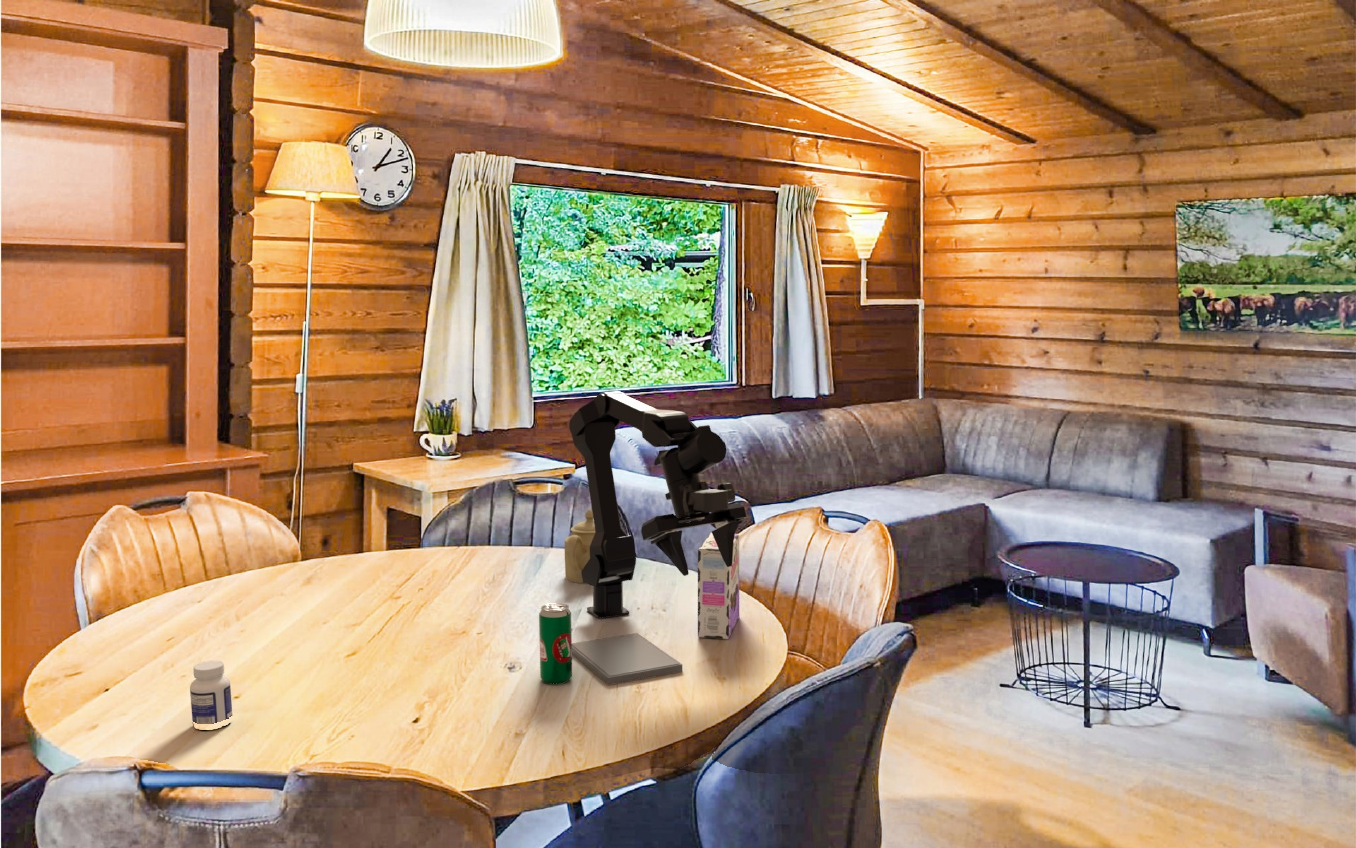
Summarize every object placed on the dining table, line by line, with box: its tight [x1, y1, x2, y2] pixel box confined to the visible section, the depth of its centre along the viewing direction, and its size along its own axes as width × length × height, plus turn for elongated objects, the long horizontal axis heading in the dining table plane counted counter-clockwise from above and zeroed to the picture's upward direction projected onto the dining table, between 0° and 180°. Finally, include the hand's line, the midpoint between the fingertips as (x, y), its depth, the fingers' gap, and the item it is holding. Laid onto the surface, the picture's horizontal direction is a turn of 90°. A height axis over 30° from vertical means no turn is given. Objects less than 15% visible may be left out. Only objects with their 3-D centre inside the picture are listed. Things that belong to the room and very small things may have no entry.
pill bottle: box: [189, 659, 233, 724], centre depth 150 cm, size 5×5×9 cm
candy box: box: [697, 532, 740, 640], centre depth 192 cm, size 14×6×16 cm, turn 168°
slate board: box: [572, 632, 683, 686], centre depth 175 cm, size 18×13×1 cm
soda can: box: [538, 602, 573, 685], centre depth 166 cm, size 5×5×12 cm
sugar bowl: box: [564, 508, 595, 584], centre depth 225 cm, size 15×11×15 cm
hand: (708, 570), depth 175 cm, fingers open, 9 cm apart
